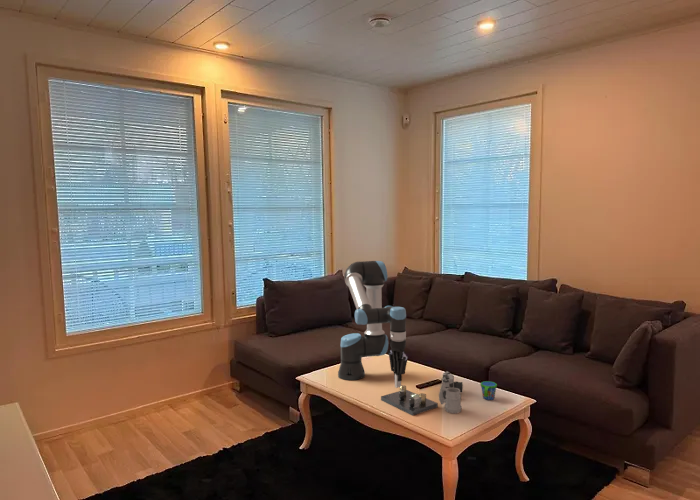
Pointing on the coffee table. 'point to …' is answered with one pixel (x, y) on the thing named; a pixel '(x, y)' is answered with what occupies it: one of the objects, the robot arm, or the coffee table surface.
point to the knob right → (417, 400)
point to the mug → (450, 399)
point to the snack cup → (488, 390)
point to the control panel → (404, 404)
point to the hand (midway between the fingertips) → (397, 386)
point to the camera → (451, 382)
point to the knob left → (402, 392)
